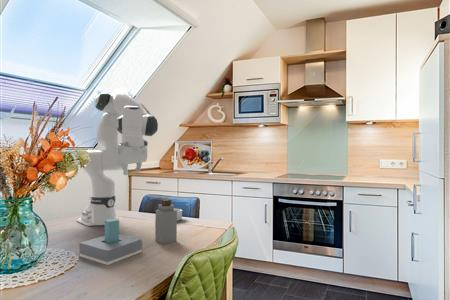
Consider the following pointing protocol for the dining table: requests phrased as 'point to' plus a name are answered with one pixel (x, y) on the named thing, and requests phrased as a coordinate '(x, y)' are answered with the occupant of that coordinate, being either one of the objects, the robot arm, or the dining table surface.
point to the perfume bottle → (166, 222)
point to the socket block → (110, 249)
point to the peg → (111, 231)
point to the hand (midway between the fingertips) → (132, 173)
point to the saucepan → (179, 214)
